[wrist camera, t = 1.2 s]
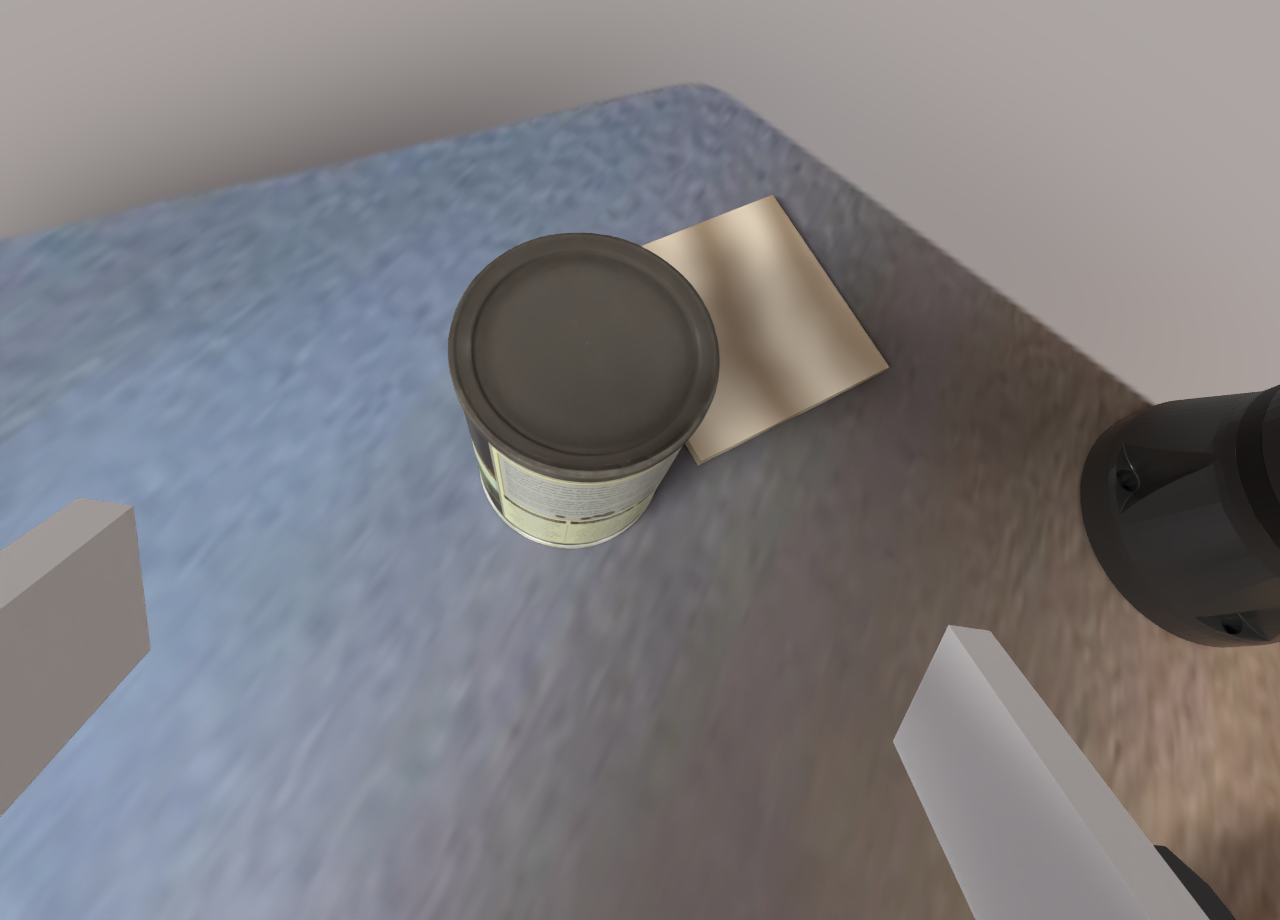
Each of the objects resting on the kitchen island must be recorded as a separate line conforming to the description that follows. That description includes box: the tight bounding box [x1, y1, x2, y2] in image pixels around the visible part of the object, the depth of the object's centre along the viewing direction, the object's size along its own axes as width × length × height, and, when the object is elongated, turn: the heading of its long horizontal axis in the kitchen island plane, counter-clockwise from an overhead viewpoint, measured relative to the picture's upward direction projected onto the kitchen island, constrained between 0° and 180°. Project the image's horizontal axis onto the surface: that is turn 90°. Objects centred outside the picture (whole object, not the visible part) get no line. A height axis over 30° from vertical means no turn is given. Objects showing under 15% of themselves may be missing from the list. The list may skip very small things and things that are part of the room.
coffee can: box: [448, 233, 720, 549], centre depth 33 cm, size 10×10×14 cm
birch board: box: [641, 195, 889, 465], centre depth 43 cm, size 14×14×1 cm
